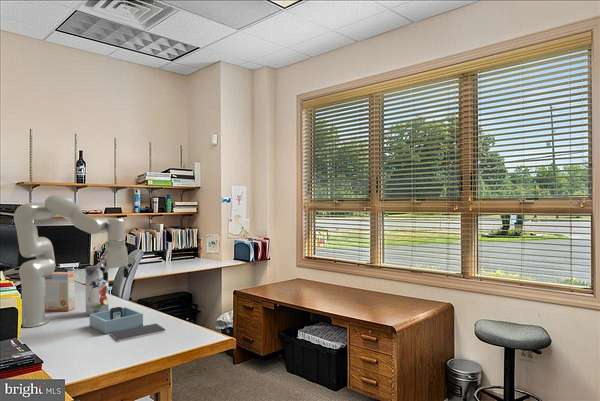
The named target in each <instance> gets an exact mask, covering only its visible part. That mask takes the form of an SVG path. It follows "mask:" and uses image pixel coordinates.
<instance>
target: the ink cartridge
mask: <svg viewBox="0 0 600 401" xmlns="http://www.w3.org/2000/svg"><path fill="white" fill-rule="evenodd" d="M122 308H123V307H121V306H116V307H111V308H110V309H109V310H110V320H112V319H117V318H121V317H122Z"/></svg>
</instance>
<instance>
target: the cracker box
mask: <svg viewBox="0 0 600 401" xmlns="http://www.w3.org/2000/svg"><path fill="white" fill-rule="evenodd" d="M44 291H45V312H49V311H50V312H70V311H72V310H74V309H75V308H76V306H75V272H74V271H54V272H53V273H52V274H51V275H48V276H45V277H44Z"/></svg>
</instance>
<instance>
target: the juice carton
mask: <svg viewBox="0 0 600 401" xmlns="http://www.w3.org/2000/svg"><path fill="white" fill-rule="evenodd" d="M102 267H103V268H104V267H105V266H104V264H102ZM84 271H85V314H86V315H87V316H90V314H93V313H98V312H103V311H108V310H109V280H108V281H106V280H104V279H103V272H102V271H101V270H100V269H99V267H98V265H97V264H96V265H93V266H92V265H90V266H85V267H84ZM107 272H108V273H109V270H108V271H107Z"/></svg>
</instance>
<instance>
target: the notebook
mask: <svg viewBox="0 0 600 401" xmlns="http://www.w3.org/2000/svg"><path fill="white" fill-rule="evenodd" d="M162 333H166V329H165V328H164V327H163V326H161V325H159V323H151V324H146V325H143V326H140V327H135V328H130V329H125V330H119V331H114V332H110V334H109V335H111V336H112V337H113V338H114V339H115V340H116V341H117V342H123V341H128V340H134V339H138V338H142V337H143V338H144V337H149V336H153V335H158V334H162Z"/></svg>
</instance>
